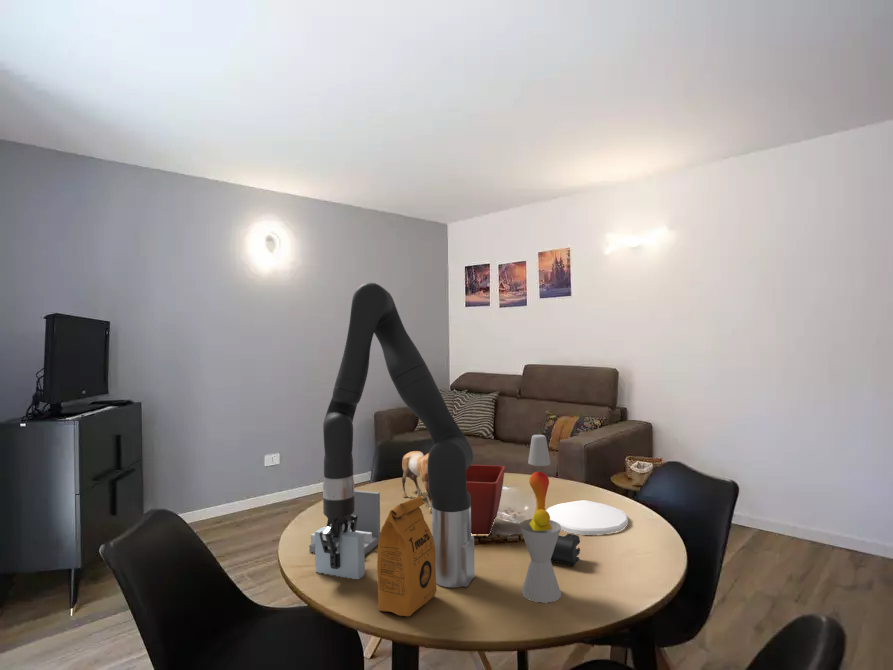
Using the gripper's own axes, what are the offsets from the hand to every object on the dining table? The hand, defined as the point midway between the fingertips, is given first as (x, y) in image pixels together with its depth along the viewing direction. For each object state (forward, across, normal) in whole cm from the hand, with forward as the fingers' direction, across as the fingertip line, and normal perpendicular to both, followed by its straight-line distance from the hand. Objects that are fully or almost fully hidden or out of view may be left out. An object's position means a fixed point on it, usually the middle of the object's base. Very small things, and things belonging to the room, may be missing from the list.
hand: (339, 564), depth 127 cm
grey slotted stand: (+2, +14, +7) cm, 16 cm away
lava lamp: (+2, +6, -48) cm, 48 cm away
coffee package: (+2, -8, -22) cm, 24 cm away
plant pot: (+2, +38, -21) cm, 43 cm away
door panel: (+2, 0, 0) cm, 2 cm away
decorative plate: (+3, +56, -53) cm, 77 cm away
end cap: (+2, +24, -49) cm, 55 cm away
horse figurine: (+2, +58, +1) cm, 58 cm away
